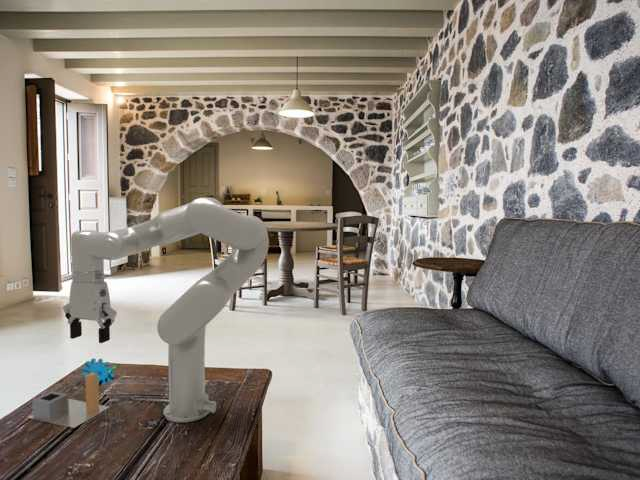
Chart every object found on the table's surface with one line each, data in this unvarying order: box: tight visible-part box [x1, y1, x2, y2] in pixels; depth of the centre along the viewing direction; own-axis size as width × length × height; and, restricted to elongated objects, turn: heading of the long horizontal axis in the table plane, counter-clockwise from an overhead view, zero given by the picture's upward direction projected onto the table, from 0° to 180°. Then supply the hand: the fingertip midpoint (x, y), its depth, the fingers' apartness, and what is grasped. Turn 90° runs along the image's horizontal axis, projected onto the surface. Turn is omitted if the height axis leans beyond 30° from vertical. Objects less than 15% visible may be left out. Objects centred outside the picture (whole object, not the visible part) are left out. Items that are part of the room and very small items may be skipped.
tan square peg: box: [84, 373, 100, 412], centre depth 122 cm, size 2×2×10 cm
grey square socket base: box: [26, 390, 110, 429], centre depth 121 cm, size 16×12×6 cm
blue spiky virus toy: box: [81, 358, 117, 386], centre depth 142 cm, size 11×6×10 cm
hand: (90, 339), depth 121 cm, fingers open, 9 cm apart
